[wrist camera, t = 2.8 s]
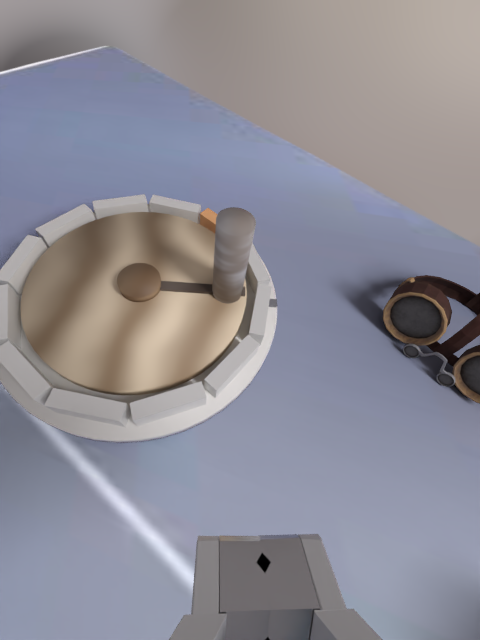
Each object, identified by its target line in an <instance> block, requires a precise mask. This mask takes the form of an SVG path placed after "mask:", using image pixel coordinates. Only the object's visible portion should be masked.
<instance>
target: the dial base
mask: <svg viewBox="0 0 480 640" xmlns="http://www.w3.org/2000/svg"><path fill="white" fill-rule="evenodd" d="M149 204H150V205H149ZM149 204H147V200H146V197H145V194H144V195H137V196H129V197H121V198H113V199H106V200H98V201H93V206H94V211H95V212H92V210H91V209H90V208H88V207H87V206H86V205H85V204H83V205H81V206H79V207H77V208H75V209H73V210H71V211H69V212H67V213H65V214H63V215H61V216H59V217H57V218H56V219H54V220H52V221H50V222H48V223H46V224H44V225H42V226H40V227H38V228H36V229H35V230H36V232H37V233H38V235H39V237H35V236H30V235H27V236H26V238H25V239H24V240H23V241H22V243H21V244H20V245H19V247H18V248H17V249H16V251H15V252H14V253H13V254H12V256H11V257H10V258H9V260H8V261H7V262H6V263H5V265H4V266H3V267H2V269H1V270H0V381H1V383H2V384H3V386H4V387H5V388H6V390H7V391H8V392H9V393H10V395H11V396H12V397H13V398H14V400H15V401H16V402H18V403H19V404H20V405H21V406H22V407H23V408H25V409H26V410H27V411H28V412H29V413H30V414H32V415H34V416H35V417H37V418H39V419H40V420H42V421H44V422H45V423H47V424H49V425H51V426H53V427H55V428H57V429H60V430H62V431H65V432H67V433H70V434H72V435H75V436H78V437H82V438H87V439H91V440H95V441H103V442H115V443H128V442H144V441H149V440H155V439H160V438H165V437H168V436H171V435H174V434H177V433H181V432H184V431H186V430H188V429H191V428H193V427H195V426H197V425H199V424H201V423H203V422H205V421H207V420H208V419H210V418H212V417H213V416H215V415H216V414H218V413H219V412H221V411H222V410H224V409H225V408H226V407H227V406H228V405H230V404H231V403H232V402H233V401H234V400H236V399H237V398H238V397H239V396H240V394H241V393H242V392H243V391H244V390H245V389H246V388H247V387H248V386H249V385H250V383H251V382H252V380H253V379H254V377H255V376H256V374H257V373H258V371H259V370H260V368H261V366H262V364H263V362H264V360H265V358H266V356H267V354H268V351H269V349H270V346H271V343H272V340H273V337H274V334H275V327H276V321H277V299H276V295H275V289H274V286H273V283H272V279H271V277H270V274H269V272H268V270H267V268H266V266H265V264H264V263H263V261H262V260H261V258H260V257H259V255H258V253H257V251H256V249H255V247H254V245H253V243H252V245H251V250H250V255H249V260H248V265H247V270H246V275H245V280H246V289H247V298H246V306H245V310H244V315H243V319H242V323H241V326H240V328H239V331H238V333H237V335H236V337H235V339H234V340H233V342H232V344H231V345H230V347H229V348H228V349H227V350H226V352H225V353H224V354H223V356H222V357H220V358H219V359H218V360H217V361H216V362H215V363H214V364H213V365H212V366H211V367H209V368H208V369H207V370H205V371H204V372H203V373H201V374H200V375H198V376H196V377H195V378H193V379H191V380H189V381H188V382H185V383H183V384H181V385H178V386H176V387H173V388H170V389H167V390H163V391H160V392H156V393H149V394H143V395H113V394H105V393H100V392H96V391H92V390H89V389H86V388H84V387H81V386H78V385H76V384H74V383H72V382H71V381H69V380H67V379H65V378H64V377H62V376H61V375H60V374H58V373H57V372H56V371H55V370H53V369H52V368H51V367H50V366H49V365H47V364H46V363H45V362H44V361H43V360H42V359H41V358H40V356H39V355H38V354H37V353H36V352H35V351H34V349H33V348H32V346H31V344H30V343H29V341H28V339H27V337H26V334H25V331H24V329H23V325H22V320H21V298H22V292H23V288H24V286H25V283H26V280H27V277H28V276H29V274H30V272H31V270H32V268H33V266H34V265H35V264H36V262H37V261H38V260H39V258H40V257H41V256H42V255H43V254H44V253H45V252H46V251H47V250H48V248H49V247H51V246H52V245H53V244H54V243H55V242H57V241H58V240H59V239H60V238H62V237H63V236H65V235H66V234H68V233H69V232H71V231H73V230H75V229H76V228H78V227H80V226H82V225H85V224H87V223H89V222H92V221H94V220H97V219H101V218H104V217H107V216H112V215H117V214H123V213H131V212H156V213H164V214H170V215H174V216H179V217H182V218H185V219H188V220H191V221H193V222H195V223H198V224H200V225H202V226H204V227H205V228H207V229H209V230H210V231H212V232H213V233H215V230H216V217H217V215H218V214H216V213H215V212H213V211H212V210H210V209H209V208H207V209H206V210H204V211H203V212H201V205H199V204H194V203H189V202H185V201H180V200H175V199H170V198H166V197H161V196H156V195H153V196H152V198H151V200H150V202H149Z"/></svg>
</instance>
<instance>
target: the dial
mask: <svg viewBox="0 0 480 640" xmlns="http://www.w3.org/2000/svg"><path fill="white" fill-rule="evenodd" d="M255 225H256V221H255V218H254V217H253V215H252V214H251V213H249V212H248V211H246V210H244V209H241V208H226V209H224V210H222V211H220V212H219V213H218V215H217V217H216V230H215V233H213V232H212V231H210V230H209V229H207V228H205V227H204V226H202V225H200V224H198V223H195V222H193V221H191V220H188V219H185V218H182V217H179V216H174V215H170V214H164V213H156V212H131V213H123V214H117V215H112V216H107V217H104V218H101V219H97V220H94V221H92V222H89V223H87V224H85V225H82V226H80V227H78V228H76V229H75V230H73V231H71V232H69V233H68V234H66V235H65V236H63V237H62V238H60V239H59V240H58V241H57V242H55V243H54V244H53V245H52V246H51V247H49V248H48V250H47V251H46V252H45V253H44V254H43V255H42V256H41V257H40V258H39V260H38V261H37V262H36V264H35V265H34V266H33V268H32V270H31V272H30V274H29V276H28V277H27V280H26V283H25V286H24V288H23V292H22V298H21V320H22V325H23V329H24V331H25V334H26V337H27V339H28V341H29V343H30V344H31V346H32V348H33V349H34V351H35V352H36V353H37V354H38V355H39V356H40V358H41V359H42V360H43V361H44V362H45V363H46V364H47V365H49V366H50V367H51V368H52V369H53V370H55V371H56V372H57V373H58V374H60V375H61V376H62V377H64V378H65V379H67V380H69V381H71V382H72V383H74V384H76V385H78V386H81V387H84V388H86V389H89V390H92V391H96V392H100V393H105V394H113V395H143V394H149V393H156V392H160V391H163V390H167V389H170V388H173V387H176V386H178V385H181V384H183V383H185V382H188V381H189V380H191V379H193V378H195V377H196V376H198V375H200V374H201V373H203V372H204V371H205V370H207V369H208V368H209V367H211V366H212V365H213V364H214V363H215V362H216V361H217V360H218V359H219V358H220V357H222V356H223V354H224V353H225V352H226V350H227V349H228V348H229V347H230V345H231V344H232V342H233V340H234V339H235V337H236V335H237V333H238V331H239V328H240V326H241V323H242V319H243V315H244V310H245V306H246V298H247V289H246V280H245V275H246V270H247V265H248V260H249V255H250V250H251V245H252V240H253V235H254V230H255Z"/></svg>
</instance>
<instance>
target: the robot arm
mask: <svg viewBox="0 0 480 640" xmlns="http://www.w3.org/2000/svg"><path fill="white" fill-rule="evenodd" d="M169 640H382V639H381V638H380V636H379V635H378V634H377V633H376V632H375V631H374V630H373V629H372V628H371V627H370V626H369V625H368V624H367V623H366V622H365V621H364V619H363V618H362V617H361V616H360V615H359V614H358V613H357V612H356V611H355V610H354V609H347V608H346V605H345V602H344V600H343V597H342V594H341V591H340V589H339V586H338V583H337V580H336V578H335V575H334V572H333V569H332V567H331V564H330V561H329V558H328V556H327V553H326V550H325V547H324V544H323V542H322V539H321V537H320V536H319V535H318V534H305V535H297V534H293V535H260V536H198V540H197V547H196V560H195V573H194V586H193V599H192V612H191V614H189V615H184V616H183V618H182V619H181V621H180V623H179V624H178V626H177V627H176V629H175V631H174V632H173V634H172V636H171V637H170V639H169Z"/></svg>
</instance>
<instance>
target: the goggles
mask: <svg viewBox="0 0 480 640" xmlns="http://www.w3.org/2000/svg"><path fill="white" fill-rule="evenodd" d="M445 295H446V296H448V297H450V298H453V299H456V300H457V301H459V302H461V303H462V304H464V305H466V306H467V307H469V308H470V309H471V310H473V311H474V312H475V313H476V314H477V316H476V317H475V318H474V319H473V320H472V321H471V322H469V323H468V324H467V325H466V326H465V327H463V328H462V329H461V330H460V331H458V332H457V333H456V334H455V335H453V336H452V337H451V338H449V339H448V340H447V341H445V342H444V343H442V344H439V343H438V342H437V341H438V340H439V339H440V338H441V337H442V335H443V334H444V333H445V332H446V328H447V326H448V325H449V323H450V319H451V314H452V310H451V306H450V303H449V300H448V299H447V297H446V296H445ZM383 321H384V323H385V326H386V329H387V330H388V331H389V332H390V333H391V334H392V335H393V337H395V338H396V339H398V340H400V341H401V342H403V343H406V344H407V345H405V346H404V348H403V351H404V354H405V355H406V356H408V357H409V358H416V357H418V356H419V355H421V356H423V357H424V356H431V355H436V356H438V357H440V358H441V359H442V360H443V362H444V363H443V365H442V367H441V369H440V373H438V375H437V381H438V382H439V384H441V385H443V386H447V387H449V386H453V385H454V384H455V385H456V387H457V388H458V389H459V390H460V391H461V392H462V393H463V394H464V395H465V396H467V397H468V398H470V399H472V400H473V401H475V402H477V403H480V345H478V346H475V347H473V348H470V349H468V350H466V351H465V352H464V353H463V354H462V355H461V356H460V357H459V358H458V357H456V356H455V355H453V353H455V352H457V351H458V350H460V349H461V348H463V347H464V346H465V345H467V344H468V343H470V342H471V341H472V340H474V339H475V338H476V337H477V336H479V335H480V293H479V294H477V295H476V294H475V293H473V292H472V291H470V290H469V289H467V288H465V287H463V286H461V285H459V284H457V283H454V282H452V281H449V280H446V279H443V278H440V277H435V276H428V275H425V276H416V277H415V278H408V279H407V280H405V281H404V282H402V284H401V285H399V287H398V288H397V289H396V290H395V292H394V293H393V295H392V297H391V298H390V300H389V301H388V303H387V304H386V306H385V308H384V309H383ZM422 345H426V346H428V347H429V348H430V349H431V350H432V351H433V353H426V354H424V353H422V352H421V351H420V348H419V347H418V346H422ZM446 363H449V364H450V365H451V366H452V367H453V371H452V374H451V373H449V372H446V371H444V368H445V365H446Z"/></svg>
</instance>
